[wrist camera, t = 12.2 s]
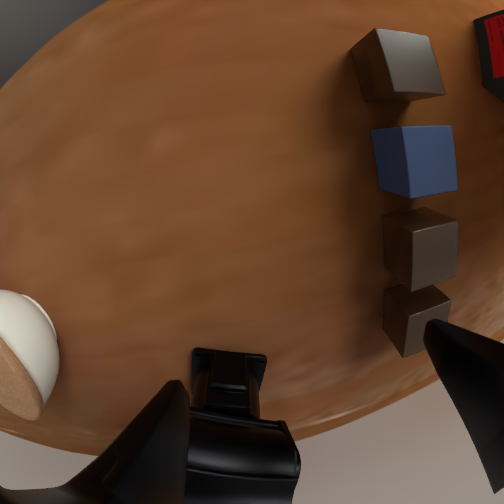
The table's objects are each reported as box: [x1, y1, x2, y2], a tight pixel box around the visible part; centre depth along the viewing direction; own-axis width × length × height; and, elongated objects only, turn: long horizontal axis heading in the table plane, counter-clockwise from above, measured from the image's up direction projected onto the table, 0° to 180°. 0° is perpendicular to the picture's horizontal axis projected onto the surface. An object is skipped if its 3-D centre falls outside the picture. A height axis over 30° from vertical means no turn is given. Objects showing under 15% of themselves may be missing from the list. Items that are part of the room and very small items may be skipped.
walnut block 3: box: [383, 284, 451, 358], centre depth 20 cm, size 4×4×4 cm
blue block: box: [371, 125, 458, 199], centre depth 15 cm, size 4×4×4 cm
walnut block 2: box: [382, 207, 459, 292], centre depth 18 cm, size 4×4×4 cm
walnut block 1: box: [350, 28, 445, 102], centre depth 13 cm, size 4×4×4 cm
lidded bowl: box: [0, 290, 59, 420], centre depth 17 cm, size 13×13×11 cm
